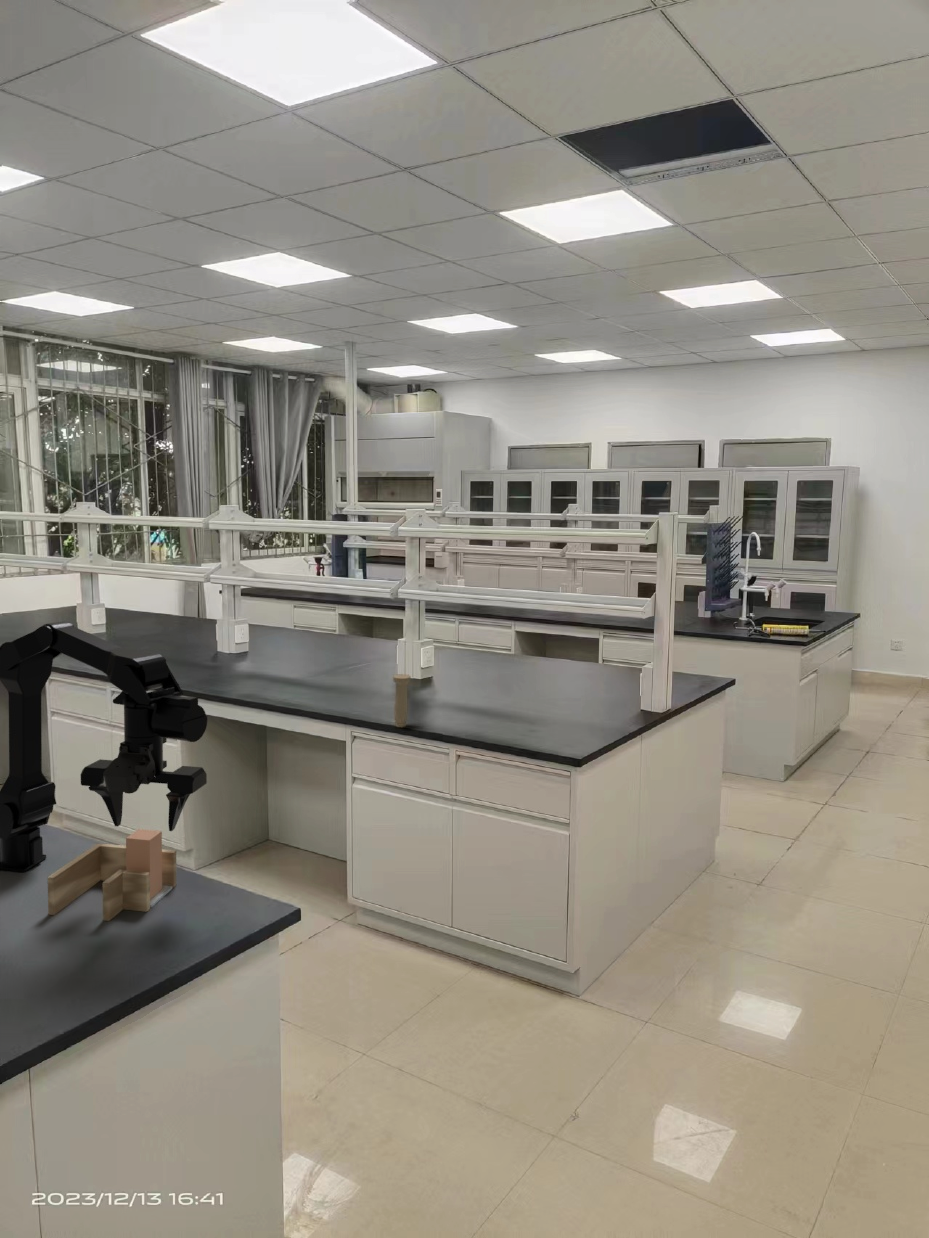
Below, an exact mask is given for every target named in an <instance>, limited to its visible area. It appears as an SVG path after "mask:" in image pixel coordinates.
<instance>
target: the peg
mask: <svg viewBox="0 0 929 1238" xmlns="http://www.w3.org/2000/svg"><path fill="white" fill-rule="evenodd" d="M125 846H126V870H129V871H139V872H149V873H150V900H151V899H152V898H153V897H154V896H156V895H157V894H158V893H159V892H160V891H161V890H162V849H163V831H161V830H152V829H140V828H138V829H136V830H135V831H134V832H133V833H131V834H129V835H128V836H127V837H125Z"/></svg>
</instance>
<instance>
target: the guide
mask: <svg viewBox="0 0 929 1238" xmlns="http://www.w3.org/2000/svg"><path fill="white" fill-rule="evenodd" d="M101 881H103V882H102V921H107V922H110V921H111V920H112V919H114V918H115V917H116V916H117V915H119V913H120V912H122V911H124V910H127V911H136V912H137V911H138V912H144V913H145V912H148V911H150V910H151V908H153V907H154V906H155V905H156V904H157V903H158V902H160V901H161V900H162V899H163V898H164V897H165V896H166V895H167V894H168V893H170V891H172V889H173V888H175V887H176V886H177V850H173V849H163V848H162V890H161V891H160V892H159V893H158V894H157V895H156V896H154V897H153V898H152V899H151V900H150V873H149V872H139V871H129V870H126V845H123V844H121V845H119V844H113V843H112V844H111V843H109V844H108V843H100V842H98V843H96V844H94V845H93V846H91V847H90V848H89V849H87V850H85V851H84V852H83V853H82V854H79V856H77V857H75V858H74V859H72V860H70V862H68V863H67V864H65V865H64V866H62V867H61V868H59V869H58V870H56V871H55V872H53V873H52V874H50V875H49V876H48V877H47V902H48V903H47V908H48V912H47V913H48V915H49V916H51V915H52V916H55V915H57V914H58V913H59V912H60V911H62V910H63V909H65V908H66V907H67V906H68V905H70V904H71V903H72V902H74V901H75V900H77V898H79V897H81V896H82V895H83V894H84V893H85V892H87V891H88V890H90V889H91V888H93V886H95V885H96V884H98V883H99V882H101Z"/></svg>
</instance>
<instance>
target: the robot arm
mask: <svg viewBox="0 0 929 1238" xmlns="http://www.w3.org/2000/svg"><path fill="white" fill-rule="evenodd" d="M62 654H63V655H65V656H67V657H70V658H71V659H74V660H76V661H77V662H79V663H80V662H81V663H83V664H85V665H86V666H90V667H91V668H93V669H96V670H98V671H99V672H101V673H103V674H105V675H106V676H107V678H108V681H109V682H110V683H111V684H112V685H113V686H115V687H116V688H117V689H118V690H121V692H120V693H119V694H118V695H117V696H116V697H114V698H113V699H112V703H113V704H114V705H122V706H123V732H124V735H123V736H124V740H123V741H122V742H119V748H118V755H117V757H116V758H114V759H112V760H111V759H102V758H101V759H98V760H97V761H94V762H92V763H90V764H88V765H87V766H84V768H82V770H81V772H80V785H81V786H85V787H88V790H89V791H90V792H91V791H92V792H95V793H96V794H98V795H99V796H100V797H101V798H102V800H103V803H104V804H105V805H106V808H107V811H108V813H109V815H110V818H111V820H112V822H113V825H114V827H119V826H121V824H122V818H123V817H122V816H123V801H124V793H125V794H129V795H130V794H134V793H135V792H137V791H138V790H139V789H140V786H141V785H150V784H152V783H153V784H162V785H163V784H164V785H166V786H167V787H166V788H167V789H168V790H169V792H168V793H166V794H165V796H166V798H167V801H168V831H169V832H173V831H174V830H175V828H176V826H177V824H178V821H179V820H180V817H181V814H182V812H183V810H184V808H185V805H186V802H187V800H188V799H189V797H190V795H191V794H193V793H195V792H196V791H198V790H199V789H201V788H202V787H204V786H205V785H207V783H208V780H207V772H206V771H205V768H204V767H201V766H188V765H181V766H180V767H178V768H177V769H175V770H173V771H166V770H165V771H164V769H165V768H167V764H168V763H167V762H168V761H167V760H164V746H163V745H164V744H166V743H167V742H168V741H167V739H170V740H176V741H183V742H189V743H195V742H198V741H199V740H201V738H203V735H204V734H205V732H206V730H207V727H208V715H207V714H206V711H205V709H204V708H203V706H201V705H200V704H199V698H198V697H197V696H187V697H186V696H184V693H183V692H184V691H183V689H181V688H182V687H180V684H179V683H178V682H177V680H176V678H175V676H174V674H173V672H172V671H171V669H170V667H169V666H168V664H167V659H166V658H165V657H164V656H163V654H162V655H161V653H157V652H153V651H150V650H149V651H148V650H143V649H132V648H131V649H130V648H125V647H121V646H119V645H117V644H114V643H112V642H110V641H107V640H106V639H103V638H101V637H99V636H96V635H94V634H91V633H90V632H87V631H84V630H83V629H81V628H78V627H76V626H75V625H74V624H73V623H71V622H68V621H56V622H51V623H45V624H43V625H41V626H40V627H38V628H36V629H35V630H33V631H32V632H31V631H30V633H27V634H25V635H23V636H20V637H19V638H16V639H14V640H12V641H5V642H4V643H2V644H1V645H0V682H1V683H2V685H3V687H4V688H5V689H6V691H7V694H8V762H9V764H8V766H9V767H8V776H7V778H6V780H5V782H4V783H3V785H2V787H1V788H0V870H1V871H2V870H3V871H12V872H22V873H23V872H27V871H28V870H30V869H31V868H33V867H34V866H36V865H37V864H39V863H40V862H42V861H44V860H45V859H46V858H47V855H46V854H44V849H43V847H44V846H43V836H41V826H45V825H48V823H49V819H50V817H51V814H52V813H53V810H54V807H55V806H54V805H57V800H56V784H55V782H54V781H49V780H48V779H47V778H46V776H45V775H44V773H43V769H42V768H43V766H42V764H43V761H42V760H43V759H42V755H43V753H42V748H43V747H42V743H43V741H42V737H43V735H42V734H43V732H42V730H43V729H42V728H43V727H42V725H43V724H42V723H43V722H42V691H43V689H44V687H45V686H46V684H47V682H48V680H49V678H50V677H51V675H52V669H53V662H54V660H55V659H56V658H57V657H60V656H61V655H62ZM160 688H161V689H160ZM156 689H157V690H156Z"/></svg>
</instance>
